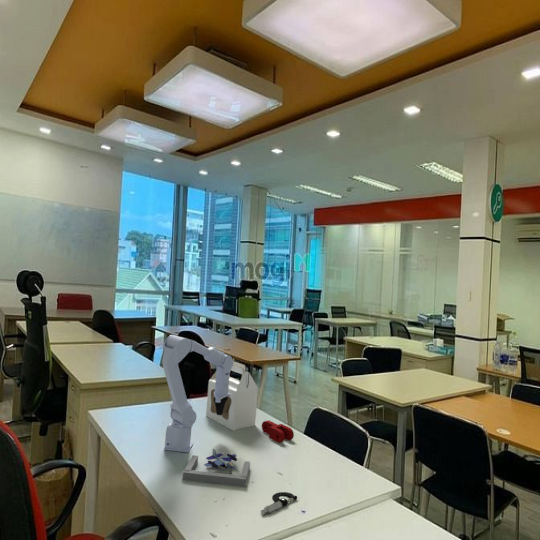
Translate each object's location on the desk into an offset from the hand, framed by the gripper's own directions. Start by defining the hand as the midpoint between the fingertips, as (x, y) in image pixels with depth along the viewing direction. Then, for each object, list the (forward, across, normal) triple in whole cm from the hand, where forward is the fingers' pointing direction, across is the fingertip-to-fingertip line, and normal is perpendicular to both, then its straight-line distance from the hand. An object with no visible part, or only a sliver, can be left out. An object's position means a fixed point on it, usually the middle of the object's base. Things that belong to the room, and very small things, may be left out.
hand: (219, 414), depth 170 cm
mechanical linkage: (+10, +8, -24) cm, 27 cm away
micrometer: (+10, -45, -26) cm, 53 cm away
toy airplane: (+10, -28, -7) cm, 30 cm away
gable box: (+10, +21, -2) cm, 23 cm away
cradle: (+9, -31, -6) cm, 33 cm away
